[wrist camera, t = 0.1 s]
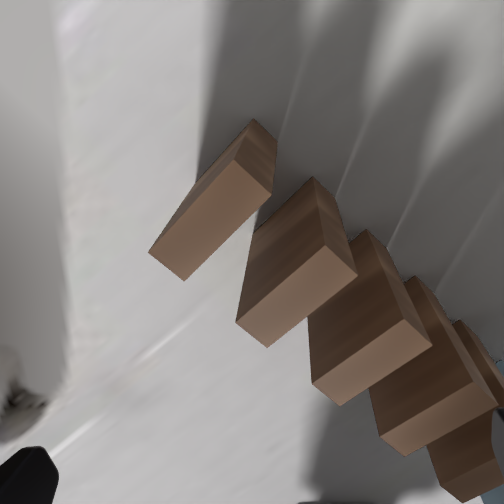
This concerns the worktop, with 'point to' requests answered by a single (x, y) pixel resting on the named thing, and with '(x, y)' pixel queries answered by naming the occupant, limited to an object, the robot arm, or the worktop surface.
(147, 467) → the worktop surface
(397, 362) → the domino
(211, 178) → the domino
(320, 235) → the domino
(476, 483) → the domino
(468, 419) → the domino
